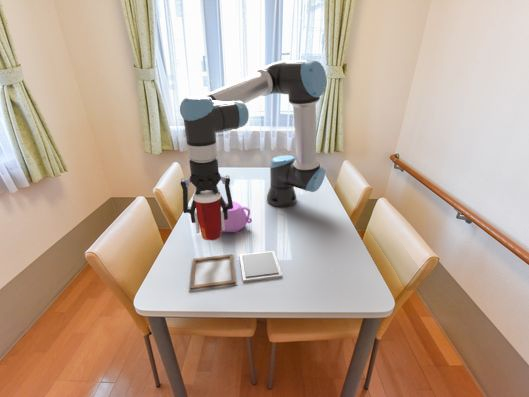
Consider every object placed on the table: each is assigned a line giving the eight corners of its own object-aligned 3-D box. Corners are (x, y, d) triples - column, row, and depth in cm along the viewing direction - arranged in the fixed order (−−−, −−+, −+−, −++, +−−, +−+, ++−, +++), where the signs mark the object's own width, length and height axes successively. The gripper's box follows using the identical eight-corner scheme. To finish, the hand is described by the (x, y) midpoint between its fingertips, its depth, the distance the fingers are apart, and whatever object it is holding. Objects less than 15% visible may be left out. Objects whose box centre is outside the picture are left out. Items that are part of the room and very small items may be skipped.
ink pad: (274, 252, 99) (274, 249, 99) (282, 277, 88) (282, 274, 87) (239, 256, 97) (239, 253, 96) (243, 282, 86) (243, 279, 85)
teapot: (202, 235, 109) (198, 209, 103) (210, 217, 122) (208, 193, 116) (250, 237, 108) (249, 211, 102) (254, 219, 120) (253, 195, 115)
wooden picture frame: (233, 255, 98) (233, 253, 97) (237, 285, 84) (237, 282, 84) (192, 260, 95) (191, 257, 95) (189, 291, 82) (188, 289, 82)
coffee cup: (229, 230, 85) (226, 187, 78) (217, 245, 78) (212, 200, 71) (206, 225, 87) (201, 184, 81) (192, 239, 81) (185, 195, 74)
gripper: (238, 152, 76) (241, 220, 87) (166, 156, 73) (178, 226, 84) (241, 160, 70) (244, 232, 80) (162, 165, 67) (176, 239, 77)
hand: (210, 229), depth 82 cm, fingers closed on coffee cup, 7 cm apart
